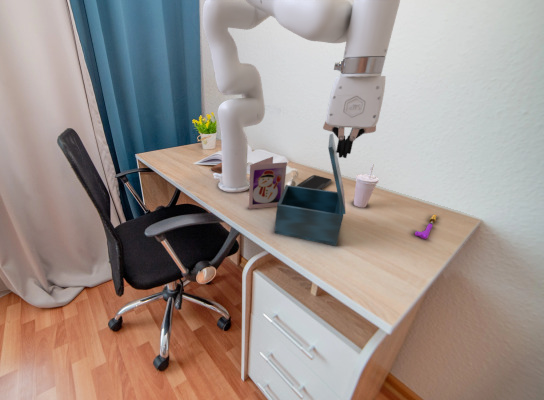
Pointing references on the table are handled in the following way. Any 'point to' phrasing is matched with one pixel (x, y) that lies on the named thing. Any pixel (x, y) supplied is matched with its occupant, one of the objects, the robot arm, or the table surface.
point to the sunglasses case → (217, 168)
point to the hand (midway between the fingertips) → (342, 156)
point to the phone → (315, 182)
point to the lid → (336, 173)
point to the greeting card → (266, 183)
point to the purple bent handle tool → (426, 232)
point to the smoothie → (364, 188)
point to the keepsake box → (309, 214)
